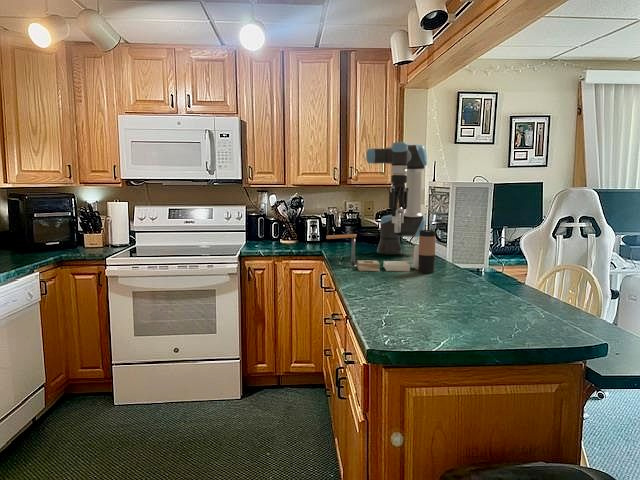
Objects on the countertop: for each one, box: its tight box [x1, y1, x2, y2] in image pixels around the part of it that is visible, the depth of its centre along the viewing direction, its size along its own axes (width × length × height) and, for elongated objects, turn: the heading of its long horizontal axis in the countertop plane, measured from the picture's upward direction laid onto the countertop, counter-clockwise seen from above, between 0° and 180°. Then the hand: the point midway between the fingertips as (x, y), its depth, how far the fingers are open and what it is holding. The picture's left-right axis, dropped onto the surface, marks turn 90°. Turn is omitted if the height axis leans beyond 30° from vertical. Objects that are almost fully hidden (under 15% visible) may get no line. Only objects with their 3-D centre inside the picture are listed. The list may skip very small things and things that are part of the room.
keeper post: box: [348, 237, 357, 268], centre depth 240 cm, size 4×4×15 cm
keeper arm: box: [325, 233, 357, 240], centre depth 235 cm, size 17×3×1 cm, turn 122°
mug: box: [413, 244, 419, 270], centre depth 238 cm, size 12×9×11 cm
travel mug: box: [417, 229, 437, 275], centre depth 226 cm, size 8×8×20 cm
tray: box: [382, 260, 411, 272], centre depth 235 cm, size 11×11×3 cm
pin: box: [394, 207, 403, 233], centre depth 232 cm, size 4×4×12 cm
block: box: [356, 259, 381, 272], centre depth 234 cm, size 10×10×4 cm
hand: (397, 222), depth 232 cm, fingers closed on pin, 4 cm apart
